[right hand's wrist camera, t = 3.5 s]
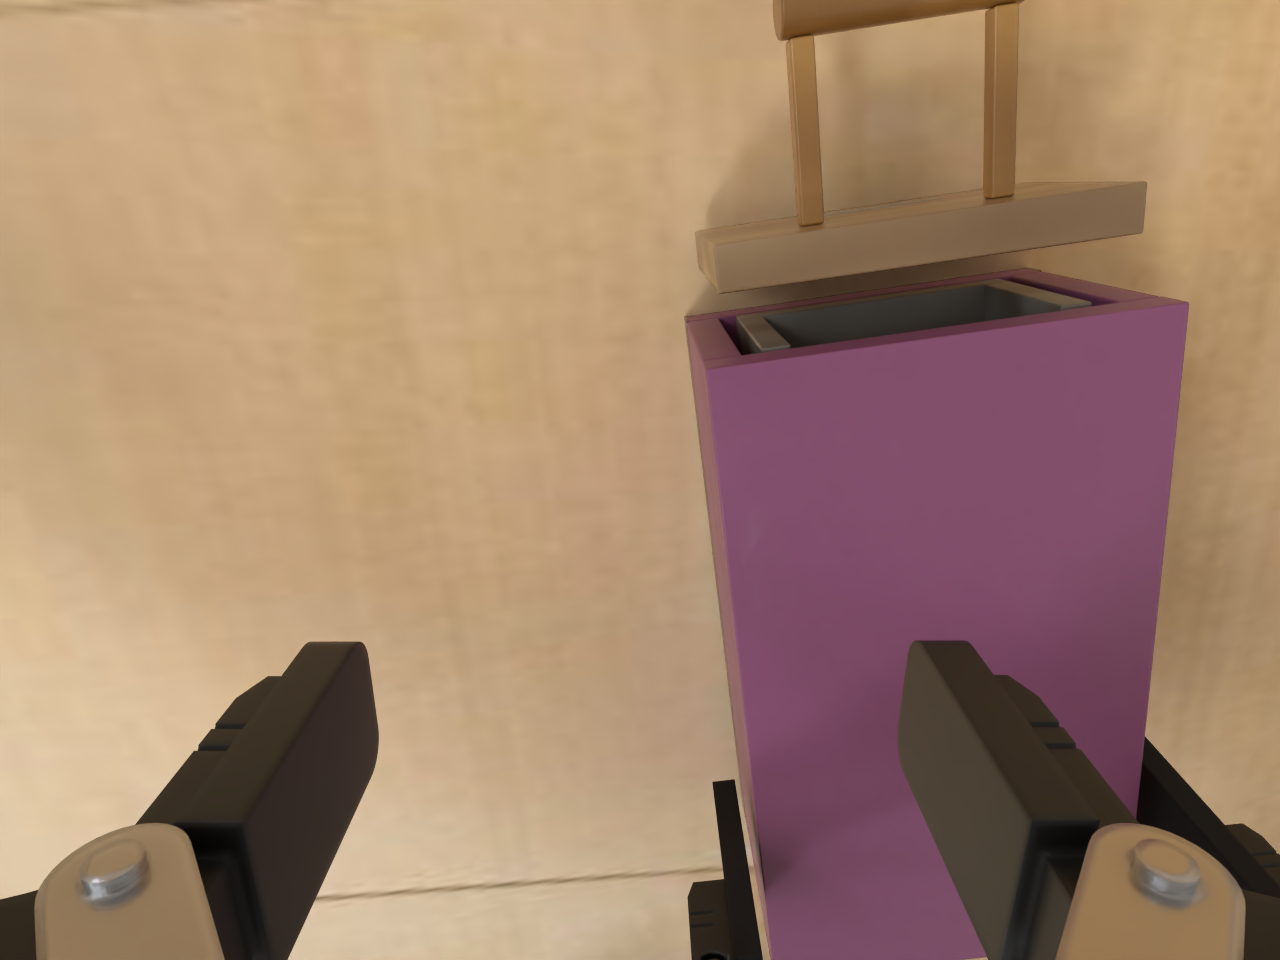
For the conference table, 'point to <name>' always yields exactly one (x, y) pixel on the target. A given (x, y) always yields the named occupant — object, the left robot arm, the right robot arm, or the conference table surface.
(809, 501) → the cabinet
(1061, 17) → the conference table surface
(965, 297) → the drawer
